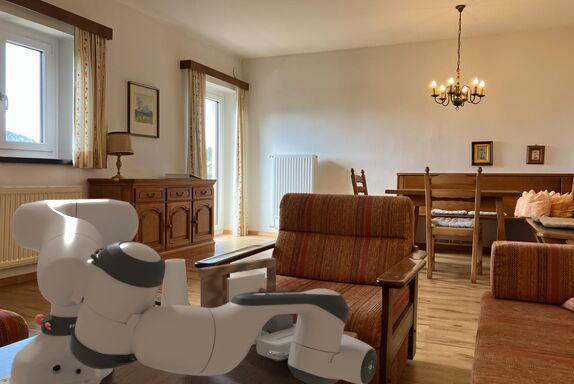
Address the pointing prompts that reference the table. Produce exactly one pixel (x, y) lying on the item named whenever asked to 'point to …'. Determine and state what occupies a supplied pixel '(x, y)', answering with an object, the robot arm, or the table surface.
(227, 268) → the door frame
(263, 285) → the door
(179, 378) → the table surface
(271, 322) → the doorstop
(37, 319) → the robot arm
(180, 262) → the champagne flute
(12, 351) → the table surface
